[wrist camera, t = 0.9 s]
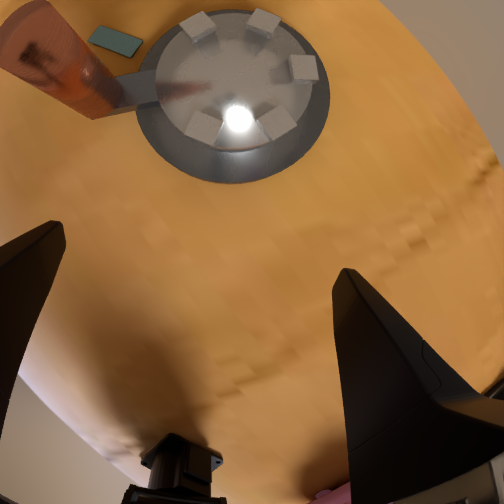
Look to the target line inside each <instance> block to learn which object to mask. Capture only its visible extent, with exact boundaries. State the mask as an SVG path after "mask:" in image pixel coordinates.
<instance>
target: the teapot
mask: <svg viewBox="0 0 504 504" xmlns="http://www.w3.org/2000/svg"><path fill="white" fill-rule="evenodd" d="M315 497H316V498H317V499H316V500H314V501H312V502H310V503H308V504H351V491H350V481H349V482H348V483H346V484H344V485H342V486H341V487H339V488H337V489H335V490H333V491H331V490H322V491H320V492H318V493H317V494H316V495H315Z"/></svg>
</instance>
